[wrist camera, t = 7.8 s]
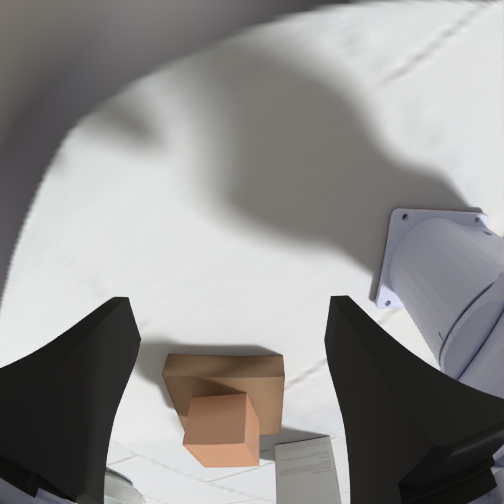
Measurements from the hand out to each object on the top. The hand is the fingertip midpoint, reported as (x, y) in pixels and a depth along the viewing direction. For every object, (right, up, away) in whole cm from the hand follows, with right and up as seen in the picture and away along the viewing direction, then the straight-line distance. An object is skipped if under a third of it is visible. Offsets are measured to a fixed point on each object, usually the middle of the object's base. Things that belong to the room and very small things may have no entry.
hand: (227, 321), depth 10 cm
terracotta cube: (-1, -12, +14) cm, 19 cm away
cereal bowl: (-29, -46, +35) cm, 65 cm away
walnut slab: (-1, -11, +17) cm, 20 cm away
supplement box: (+8, -24, +23) cm, 34 cm away
